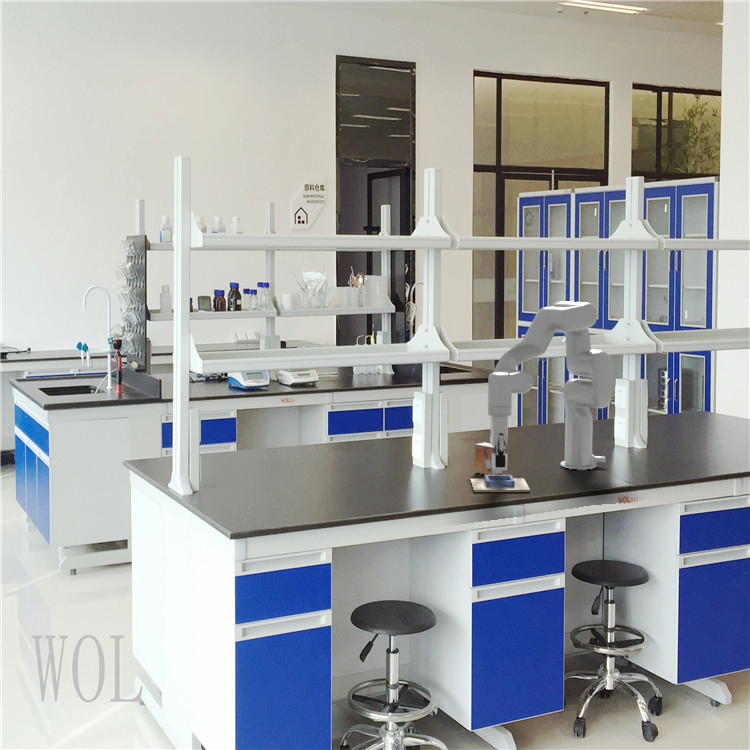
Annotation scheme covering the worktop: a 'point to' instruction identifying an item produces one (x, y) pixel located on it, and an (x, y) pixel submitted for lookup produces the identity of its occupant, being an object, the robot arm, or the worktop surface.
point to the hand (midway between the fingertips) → (499, 464)
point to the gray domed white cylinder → (494, 460)
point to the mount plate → (499, 483)
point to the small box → (484, 459)
